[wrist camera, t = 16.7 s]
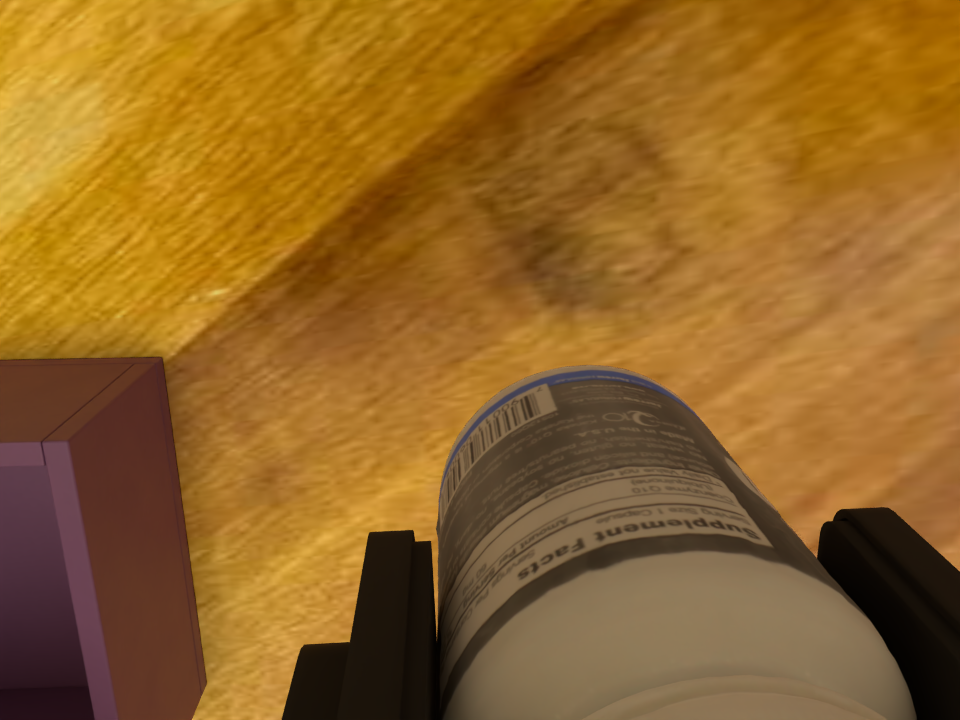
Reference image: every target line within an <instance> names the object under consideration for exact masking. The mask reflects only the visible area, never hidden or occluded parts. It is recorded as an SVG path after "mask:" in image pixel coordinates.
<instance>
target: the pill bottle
mask: <svg viewBox="0 0 960 720" xmlns="http://www.w3.org/2000/svg"><path fill="white" fill-rule="evenodd" d="M436 530H437V535H438V553H439V554H438V632H437V654H436V657H437V672H436V679H437V682H436V701H435V703H436V720H917V716H916V712H915V709H914V705H913V701H912V697H911V694H910V691H909V689H908V686H907V684H906V682H905V679H904V677H903V675H902V673H901V671H900V669H899V667H898V664H897V662H896V660H895V659H894V657H893V656H892V654H891V653H890V651H889V650H888V648H887V646H886V644H885V642H884V640H883V639H882V637H881V636H880V634H879V633H878V631H877V630H876V628H875V627H874V625H873V624H872V622H871V621H870V620H869V618H868V617H867V616H866V615H865V613H864V612H863V611H862V610H861V609H860V608H859V607H858V606H857V605H856V603H855V602H854V601H853V600H852V599H851V598H850V597H849V596H848V595H847V594H846V593H845V592H844V590H843V589H842V588H841V586H840V585H839V584H838V583H837V582H836V581H835V580H834V579H833V578H832V577H831V576H830V575H829V574H828V572H827V571H826V569H825V568H824V567H823V566H822V565H821V563H820V562H819V561H818V559H817V558H816V557H815V556H814V554H813V553H812V552H811V551H810V550H809V549H808V548H807V547H806V546H805V544H804V543H803V542H802V540H801V539H800V538H799V537H798V536H797V534H796V533H795V532H794V531H793V530H792V529H791V528H790V527H789V526H788V525H787V524H786V522H785V521H784V520H783V519H782V518H781V516H780V514H779V512H778V511H777V510H776V509H775V508H774V506H773V505H772V504H771V503H770V502H769V501H768V500H767V499H766V498H765V496H764V495H763V494H762V493H761V492H760V491H759V490H758V489H757V487H756V486H755V485H754V483H753V482H752V481H751V480H750V478H749V477H748V476H747V475H746V474H745V473H744V472H743V471H742V470H741V468H740V467H739V466H738V465H737V463H736V462H735V461H734V460H733V459H732V457H731V456H730V455H729V453H728V452H727V451H726V450H725V448H724V447H723V446H722V445H721V444H720V443H719V441H718V440H717V439H716V438H715V436H714V435H713V434H712V433H711V431H710V430H709V429H708V428H707V426H706V425H705V424H704V423H703V422H702V420H701V419H700V418H699V417H698V416H697V415H696V413H695V412H694V411H693V410H692V409H691V408H690V407H689V406H688V405H687V404H686V403H685V402H684V401H683V400H682V399H680V398H679V397H678V396H677V395H676V394H674V393H673V392H671V391H670V390H668V389H667V388H665V387H664V386H662V385H661V384H659V383H657V382H655V381H654V380H652V379H650V378H648V377H645V376H643V375H640V374H638V373H635V372H632V371H629V370H626V369H621V368H615V367H610V366H596V365H582V366H569V367H561V368H557V369H552V370H548V371H544V372H540V373H537V374H534V375H531V376H529V377H526V378H524V379H522V380H520V381H518V382H516V383H514V384H512V385H510V386H508V387H506V388H505V389H503V390H501V391H500V392H499V393H497V394H496V395H495V396H494V397H492V398H491V399H490V400H489V401H488V402H486V403H485V404H484V405H483V406H482V407H481V408H480V409H479V410H478V411H477V412H476V414H475V415H474V416H473V417H472V418H471V419H470V420H469V421H468V423H467V424H466V425H465V427H464V428H463V430H462V431H461V432H460V434H459V435H458V437H457V439H456V441H455V443H454V445H453V447H452V449H451V451H450V453H449V456H448V458H447V461H446V465H445V469H444V472H443V477H442V482H441V488H440V496H439V513H438V521H437V527H436Z"/></svg>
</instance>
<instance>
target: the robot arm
mask: <svg viewBox="0 0 960 720" xmlns="http://www.w3.org/2000/svg"><path fill="white" fill-rule="evenodd" d="M817 559H818V561H819V562H820V563H821V565H822V566H823V567H824V568H825V569H826V571H827V572H828V574H829V575H830V576H831V577H832V578H833V579H834V580H835V581H836V582H837V583H838V584H839V585H840V586H841V588H842V589H843V590H844V592H845V593H846V594H847V595H848V596H849V597H850V598H851V599H852V600H853V601H854V602H855V603H856V605H857V606H858V607H859V608H860V609H861V610H862V611H863V612H864V613H865V615H866V616H867V617H868V618H869V620H870V621H871V622H872V624H873V625H874V627H875V628H876V630H877V631H878V633H879V634H880V636H881V637H882V639H883V640H884V642H885V644H886V646H887V648H888V650H889V651H890V653H891V654H892V656H893V657H894V659H895V660H896V662H897V664H898V667H899V669H900V671H901V673H902V675H903V677H904V679H905V682H906V684H907V686H908V689H909V691H910V694H911V697H912V701H913V705H914V709H915V712H916V716H917V720H960V572H959V571H958V570H957V569H956V568H955V567H954V566H953V565H952V564H951V563H950V562H949V561H947V560H946V559H945V558H944V557H943V556H942V555H941V554H940V553H939V552H938V551H937V550H935V549H934V548H933V547H932V546H931V545H930V544H929V543H928V542H927V541H926V540H925V539H923V538H922V537H921V536H920V535H919V534H918V533H917V532H916V531H915V530H914V529H913V528H911V527H910V526H909V525H908V524H907V523H906V522H905V521H904V520H903V519H902V518H901V517H899V516H898V515H897V514H896V513H895V512H894V511H892V510H891V509H889V508H885V507H880V508H859V509H841V510H839V511H838V512H837V513H836V515H835V516H834V519H833V521H828V522H825V523H824V524H823V526H822V528H821V532H820V538H819V547H818V555H817ZM436 654H437V637H436V619H435V601H434V583H433V565H432V548H431V541H420V542H415V537H414V531H413V530H404V531H384V532H370V533H369V535H368V540H367V546H366V552H365V558H364V563H363V569H362V575H361V581H360V587H359V592H358V598H357V604H356V610H355V616H354V621H353V627H352V633H351V639H350V642H345V643H326V644H307V645H304V646H303V647H302V648H301V650H300V653H299V656H298V659H297V663H296V667H295V671H294V674H293V678H292V682H291V686H290V690H289V694H288V697H287V701H286V705H285V709H284V713H283V717H282V720H436V703H435V701H436V682H437V679H436V672H437V657H436Z"/></svg>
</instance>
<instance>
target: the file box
mask: <svg viewBox="0 0 960 720" xmlns="http://www.w3.org/2000/svg"><path fill="white" fill-rule="evenodd" d="M205 687H206V677H205V669H204V662H203V655H202V647H201V640H200V633H199V625H198V618H197V611H196V603H195V596H194V589H193V581H192V574H191V567H190V559H189V552H188V545H187V537H186V530H185V523H184V515H183V508H182V501H181V493H180V486H179V478H178V471H177V464H176V456H175V449H174V442H173V434H172V427H171V420H170V412H169V405H168V398H167V390H166V383H165V376H164V368H163V361H162V357H140V358H90V359H40V360H0V720H192V718H193V715H194V713H195V710H196V708H197V706H198V703H199V701H200V698H201V696H202V694H203V691H204V689H205Z"/></svg>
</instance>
